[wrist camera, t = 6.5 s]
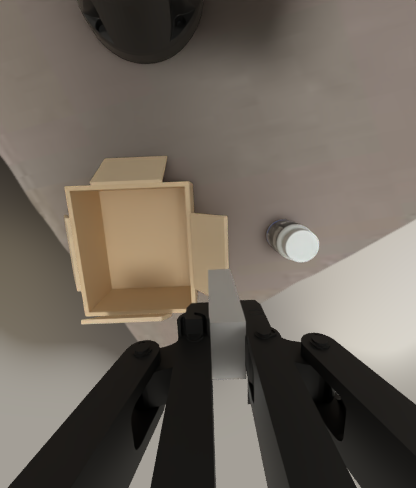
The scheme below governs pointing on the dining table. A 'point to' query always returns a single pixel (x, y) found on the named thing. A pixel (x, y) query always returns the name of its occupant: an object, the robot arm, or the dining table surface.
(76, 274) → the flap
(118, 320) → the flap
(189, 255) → the carton
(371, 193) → the dining table surface
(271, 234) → the pill bottle
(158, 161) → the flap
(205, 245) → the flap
